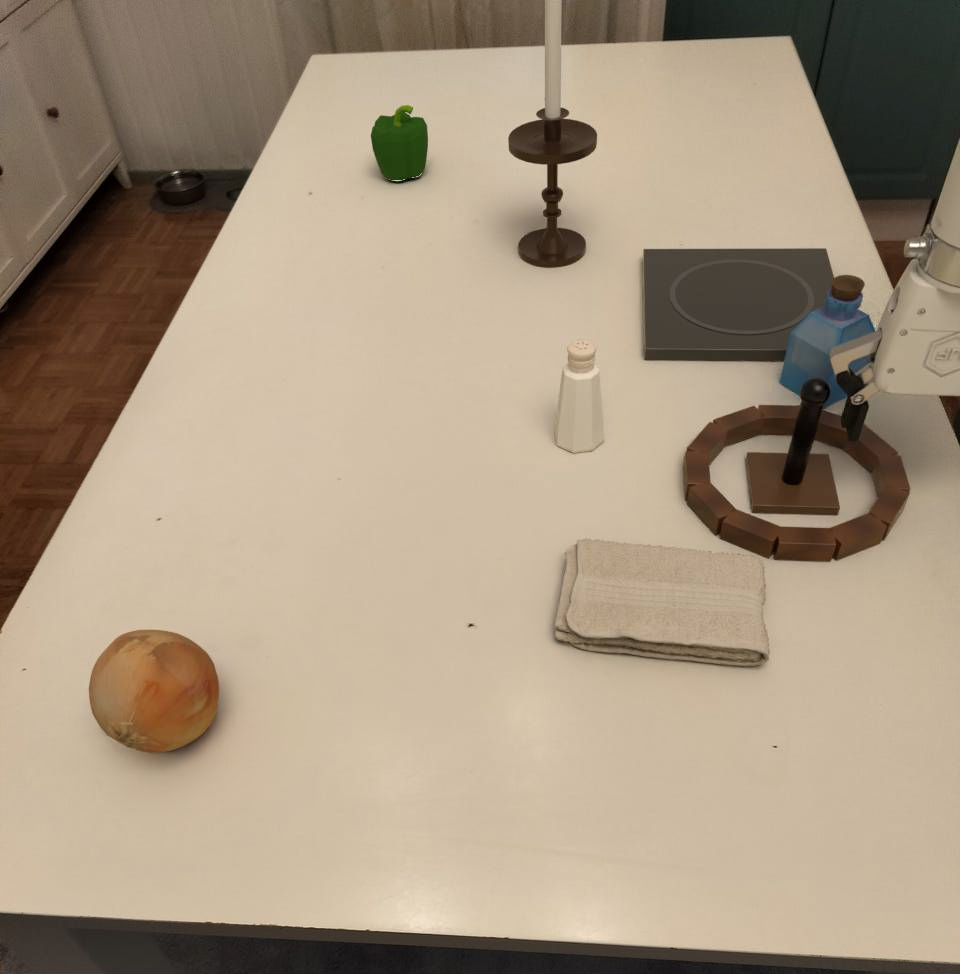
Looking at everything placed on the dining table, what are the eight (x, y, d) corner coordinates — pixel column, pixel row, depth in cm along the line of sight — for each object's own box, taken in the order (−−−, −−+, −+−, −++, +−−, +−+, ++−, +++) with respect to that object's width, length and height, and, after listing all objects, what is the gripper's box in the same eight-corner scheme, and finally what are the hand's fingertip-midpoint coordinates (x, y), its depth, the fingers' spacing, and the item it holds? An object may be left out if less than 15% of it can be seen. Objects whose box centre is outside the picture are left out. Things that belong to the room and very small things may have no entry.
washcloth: (566, 554, 86) (566, 530, 83) (762, 569, 83) (769, 545, 81) (551, 651, 78) (551, 628, 76) (766, 672, 76) (774, 648, 73)
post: (826, 461, 92) (858, 354, 83) (837, 515, 87) (873, 408, 78) (745, 459, 93) (767, 353, 83) (751, 513, 88) (776, 406, 78)
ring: (880, 424, 95) (886, 406, 94) (920, 564, 82) (927, 547, 81) (680, 420, 98) (682, 403, 96) (688, 557, 85) (690, 540, 83)
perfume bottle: (862, 388, 99) (894, 285, 90) (822, 409, 97) (851, 306, 88) (818, 362, 103) (845, 260, 94) (779, 383, 101) (802, 281, 92)
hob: (823, 259, 117) (826, 247, 116) (851, 362, 103) (854, 349, 101) (642, 259, 120) (643, 247, 118) (644, 360, 105) (645, 347, 104)
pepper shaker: (598, 457, 94) (603, 365, 86) (547, 450, 96) (547, 358, 87) (609, 425, 98) (615, 333, 89) (560, 419, 99) (561, 327, 90)
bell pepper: (365, 179, 140) (354, 108, 132) (402, 159, 143) (393, 89, 136) (404, 193, 136) (395, 121, 128) (441, 172, 140) (435, 101, 132)
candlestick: (495, 251, 123) (480, -69, 96) (553, 223, 127) (554, -91, 100) (550, 280, 118) (552, -51, 91) (609, 249, 122) (627, -76, 95)
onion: (101, 779, 73) (48, 706, 65) (131, 680, 79) (86, 602, 71) (221, 775, 72) (182, 701, 64) (242, 675, 79) (209, 597, 71)
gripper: (866, 278, 69) (813, 457, 82) (1108, 281, 67) (1014, 463, 81) (851, 230, 74) (803, 407, 87) (1076, 232, 72) (993, 411, 85)
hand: (904, 433), depth 84 cm, fingers open, 9 cm apart
